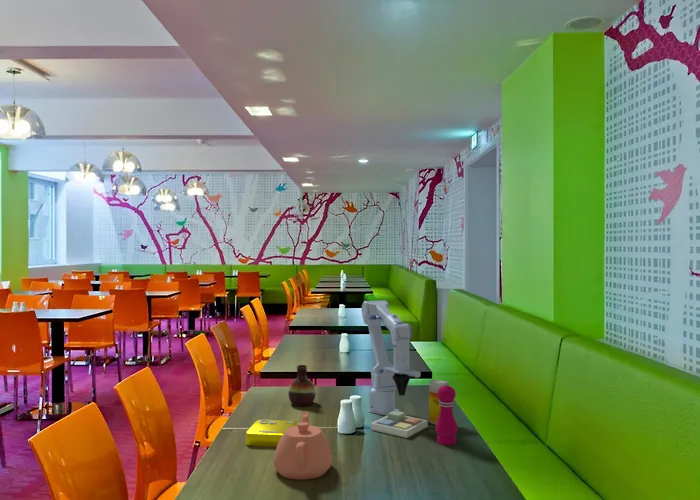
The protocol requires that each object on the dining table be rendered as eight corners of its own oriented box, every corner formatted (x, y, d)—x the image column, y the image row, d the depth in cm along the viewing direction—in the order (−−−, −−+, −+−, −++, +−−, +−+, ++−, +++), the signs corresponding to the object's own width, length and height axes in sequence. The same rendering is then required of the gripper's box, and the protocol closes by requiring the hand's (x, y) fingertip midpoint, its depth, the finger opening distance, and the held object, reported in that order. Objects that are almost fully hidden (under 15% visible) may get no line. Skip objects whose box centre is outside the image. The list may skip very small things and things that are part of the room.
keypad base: (371, 430, 198) (371, 423, 198) (392, 419, 210) (392, 413, 210) (406, 438, 190) (406, 431, 190) (427, 426, 201) (427, 420, 201)
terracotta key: (404, 426, 200) (404, 420, 200) (410, 423, 204) (410, 417, 204) (415, 429, 197) (415, 422, 197) (421, 425, 201) (421, 419, 201)
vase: (284, 401, 234) (284, 364, 234) (309, 398, 238) (309, 362, 238) (293, 408, 224) (293, 370, 224) (319, 405, 228) (319, 367, 228)
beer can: (440, 426, 202) (440, 384, 201) (426, 423, 205) (425, 382, 205) (448, 422, 206) (448, 381, 206) (434, 419, 210) (434, 378, 210)
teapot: (279, 452, 177) (279, 409, 177) (333, 452, 177) (333, 409, 177) (268, 486, 152) (268, 437, 152) (331, 486, 152) (331, 436, 152)
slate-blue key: (376, 428, 198) (376, 421, 198) (383, 424, 202) (383, 418, 202) (387, 430, 196) (387, 424, 196) (394, 427, 199) (394, 420, 199)
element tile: (243, 446, 184) (243, 431, 184) (257, 431, 198) (257, 417, 198) (289, 448, 182) (289, 433, 182) (299, 433, 197) (299, 419, 197)
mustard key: (394, 431, 194) (393, 425, 194) (400, 428, 198) (400, 422, 198) (405, 434, 192) (405, 428, 192) (411, 430, 195) (411, 424, 195)
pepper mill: (457, 446, 182) (457, 384, 182) (434, 444, 183) (434, 383, 183) (457, 438, 189) (457, 379, 189) (435, 437, 190) (435, 378, 190)
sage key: (387, 419, 204) (387, 413, 204) (394, 416, 208) (394, 410, 208) (398, 421, 201) (398, 415, 201) (404, 418, 205) (404, 412, 205)
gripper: (378, 357, 206) (379, 394, 206) (413, 361, 198) (413, 400, 198) (389, 354, 212) (389, 390, 212) (423, 358, 203) (423, 395, 203)
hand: (401, 394), depth 205 cm, fingers closed
